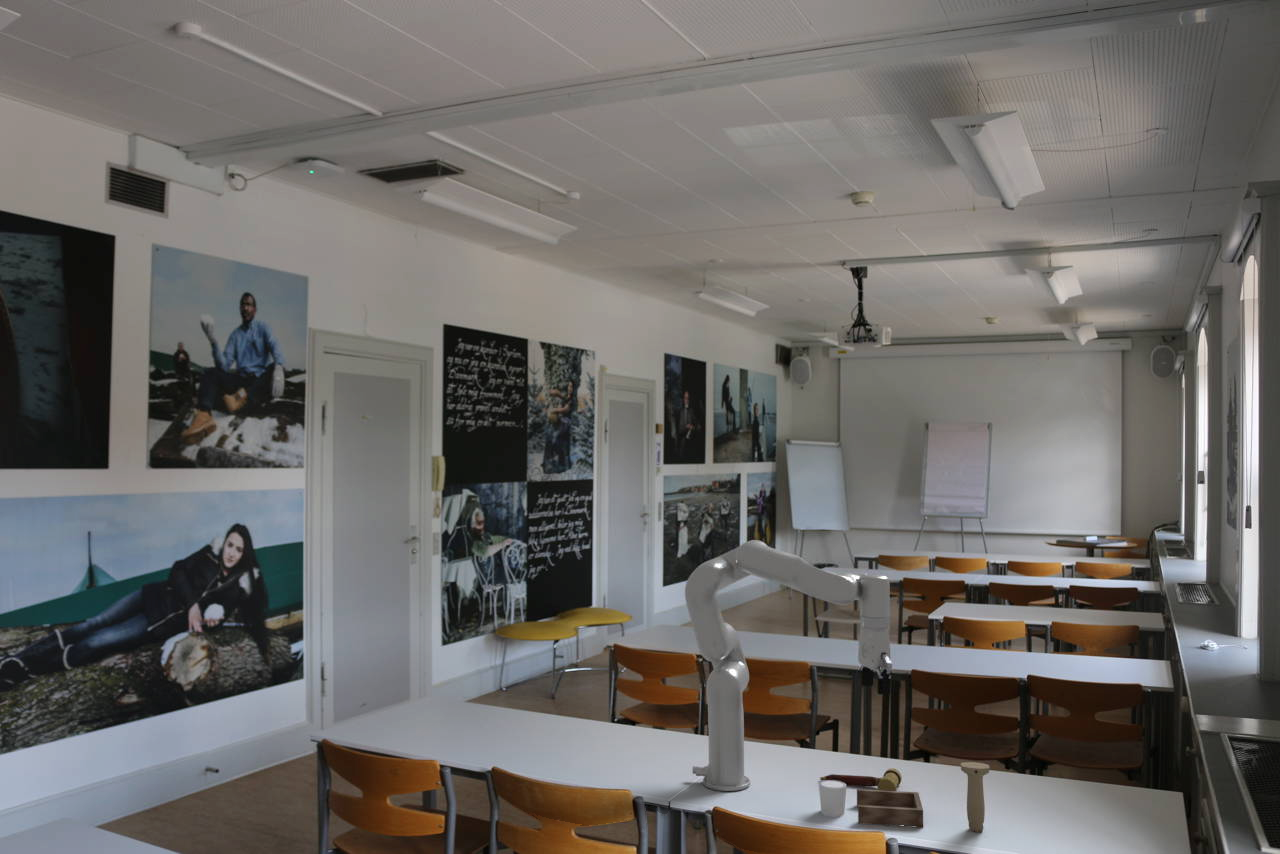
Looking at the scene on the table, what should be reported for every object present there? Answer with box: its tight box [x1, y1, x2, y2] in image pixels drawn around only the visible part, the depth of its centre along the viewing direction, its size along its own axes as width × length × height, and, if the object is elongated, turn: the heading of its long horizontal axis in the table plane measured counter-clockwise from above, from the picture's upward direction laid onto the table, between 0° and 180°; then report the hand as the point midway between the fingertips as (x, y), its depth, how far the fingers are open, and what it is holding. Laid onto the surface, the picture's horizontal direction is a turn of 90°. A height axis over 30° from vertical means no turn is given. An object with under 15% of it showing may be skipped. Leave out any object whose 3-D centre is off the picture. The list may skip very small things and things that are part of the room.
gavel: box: [819, 768, 903, 791], centre depth 266 cm, size 21×5×10 cm
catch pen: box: [856, 788, 924, 828], centre depth 244 cm, size 15×13×4 cm
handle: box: [960, 761, 991, 833], centre depth 234 cm, size 5×6×15 cm
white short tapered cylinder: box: [818, 780, 848, 817], centre depth 246 cm, size 7×7×7 cm
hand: (875, 689), depth 258 cm, fingers open, 9 cm apart
